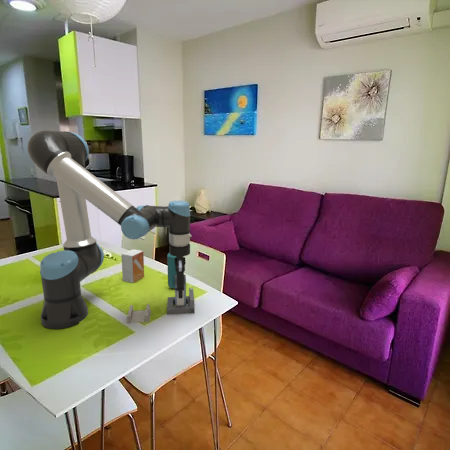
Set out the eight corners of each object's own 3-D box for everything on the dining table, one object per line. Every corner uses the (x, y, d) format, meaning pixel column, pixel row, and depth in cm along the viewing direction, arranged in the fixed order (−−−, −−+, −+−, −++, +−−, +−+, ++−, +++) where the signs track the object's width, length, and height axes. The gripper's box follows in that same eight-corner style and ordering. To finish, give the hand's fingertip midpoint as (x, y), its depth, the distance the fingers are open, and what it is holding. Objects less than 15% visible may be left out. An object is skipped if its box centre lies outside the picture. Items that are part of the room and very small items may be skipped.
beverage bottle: (180, 292, 136) (179, 247, 131) (165, 290, 138) (164, 246, 133) (184, 286, 143) (184, 243, 138) (170, 284, 144) (169, 241, 139)
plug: (175, 308, 121) (174, 279, 118) (175, 303, 125) (174, 275, 122) (186, 308, 121) (185, 279, 118) (185, 303, 125) (185, 274, 122)
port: (167, 316, 118) (166, 299, 116) (167, 302, 127) (167, 287, 126) (194, 314, 119) (194, 298, 118) (192, 301, 129) (192, 286, 127)
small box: (133, 283, 144) (132, 256, 141) (122, 280, 146) (120, 253, 143) (144, 276, 151) (143, 250, 148) (133, 274, 154) (132, 248, 150)
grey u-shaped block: (126, 324, 112) (125, 316, 111) (129, 312, 119) (128, 305, 119) (149, 322, 113) (149, 315, 112) (151, 311, 121) (150, 304, 120)
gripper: (191, 250, 109) (191, 312, 115) (189, 236, 125) (189, 291, 131) (168, 251, 108) (170, 313, 114) (169, 237, 124) (170, 292, 130)
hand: (180, 301), depth 122 cm, fingers closed on plug, 4 cm apart
